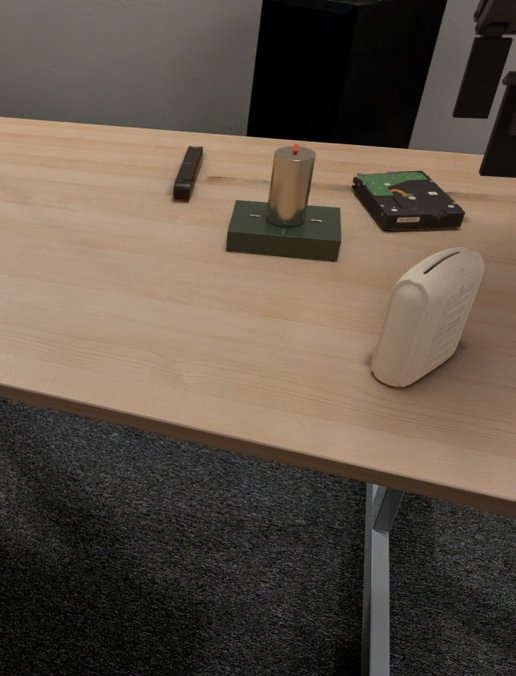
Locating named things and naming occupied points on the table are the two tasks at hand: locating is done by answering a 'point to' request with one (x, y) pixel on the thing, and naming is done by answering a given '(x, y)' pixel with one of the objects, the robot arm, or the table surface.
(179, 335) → the table surface
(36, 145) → the table surface
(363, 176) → the disk drive
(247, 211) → the green base plate
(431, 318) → the photo printer
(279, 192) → the dial
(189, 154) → the black bar
